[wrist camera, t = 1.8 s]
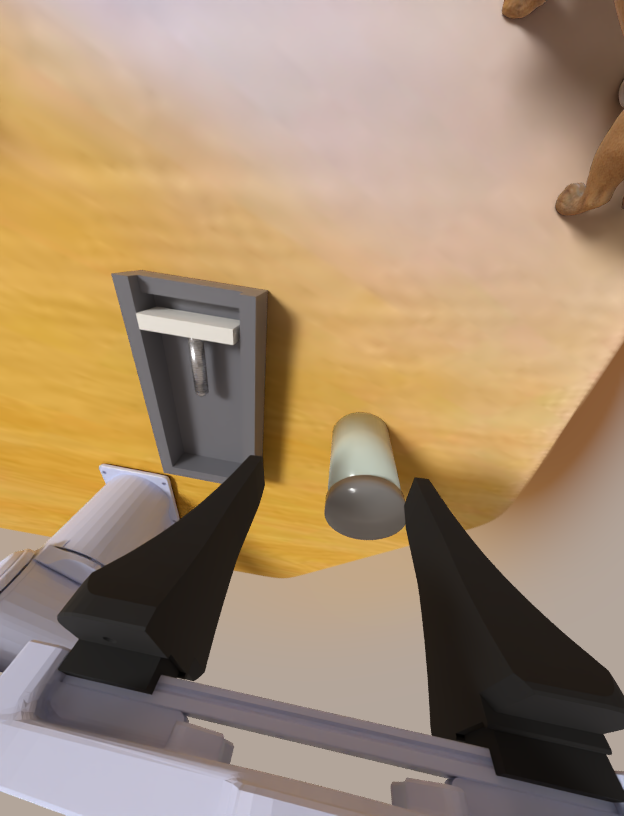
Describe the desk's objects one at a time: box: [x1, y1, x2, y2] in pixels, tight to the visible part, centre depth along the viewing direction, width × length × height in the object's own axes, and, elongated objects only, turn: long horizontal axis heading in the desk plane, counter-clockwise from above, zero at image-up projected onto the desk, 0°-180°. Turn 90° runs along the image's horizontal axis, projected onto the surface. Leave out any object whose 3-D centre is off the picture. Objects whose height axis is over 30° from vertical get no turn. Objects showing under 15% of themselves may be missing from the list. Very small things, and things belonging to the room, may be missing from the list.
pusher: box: [136, 307, 240, 397], centre depth 18 cm, size 6×6×2 cm
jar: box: [325, 412, 405, 540], centre depth 19 cm, size 5×5×8 cm
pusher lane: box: [111, 270, 268, 484], centre depth 21 cm, size 17×9×3 cm, turn 173°
